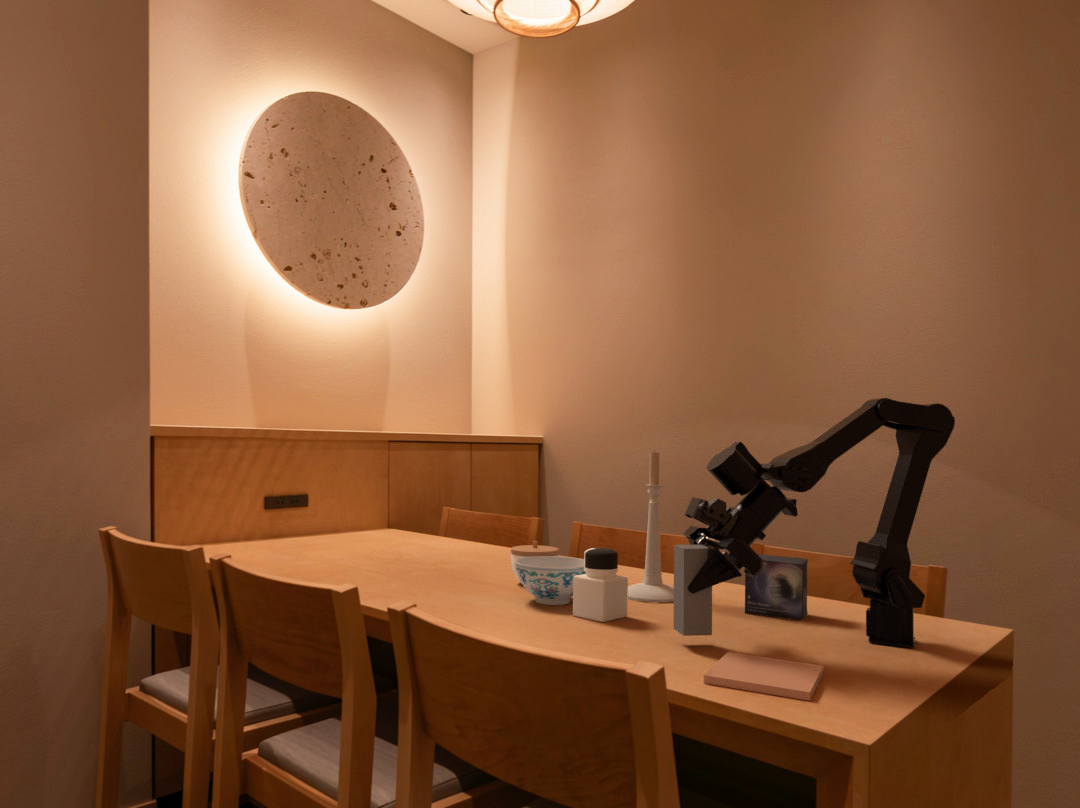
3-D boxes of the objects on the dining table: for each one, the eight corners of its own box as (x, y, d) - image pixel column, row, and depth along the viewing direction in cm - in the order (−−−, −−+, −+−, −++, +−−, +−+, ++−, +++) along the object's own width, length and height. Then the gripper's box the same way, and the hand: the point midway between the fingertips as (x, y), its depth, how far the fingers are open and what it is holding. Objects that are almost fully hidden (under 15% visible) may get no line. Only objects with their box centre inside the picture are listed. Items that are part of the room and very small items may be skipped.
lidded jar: (567, 583, 166) (568, 540, 167) (542, 590, 157) (543, 545, 158) (527, 577, 172) (528, 536, 172) (500, 584, 163) (501, 541, 163)
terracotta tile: (823, 673, 102) (823, 665, 102) (809, 700, 90) (809, 692, 90) (727, 659, 108) (727, 651, 108) (703, 683, 96) (703, 675, 96)
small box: (743, 614, 138) (743, 557, 139) (750, 607, 144) (751, 553, 145) (802, 621, 133) (802, 562, 134) (808, 614, 139) (808, 557, 140)
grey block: (701, 627, 117) (701, 544, 118) (712, 635, 113) (712, 548, 114) (673, 628, 117) (674, 544, 117) (683, 635, 112) (683, 548, 113)
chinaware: (546, 591, 156) (547, 553, 157) (605, 601, 147) (606, 562, 147) (498, 601, 145) (499, 561, 145) (559, 613, 135) (560, 570, 136)
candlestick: (615, 599, 149) (617, 449, 151) (628, 588, 161) (630, 449, 163) (679, 605, 145) (681, 450, 147) (688, 593, 157) (689, 451, 159)
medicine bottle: (628, 616, 134) (629, 549, 134) (603, 623, 128) (604, 552, 129) (596, 610, 139) (598, 545, 139) (571, 616, 133) (573, 548, 134)
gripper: (695, 477, 126) (631, 543, 124) (742, 482, 107) (668, 560, 105) (739, 524, 127) (677, 590, 124) (793, 537, 108) (721, 616, 106)
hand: (684, 588), depth 115 cm, fingers closed on grey block, 4 cm apart
